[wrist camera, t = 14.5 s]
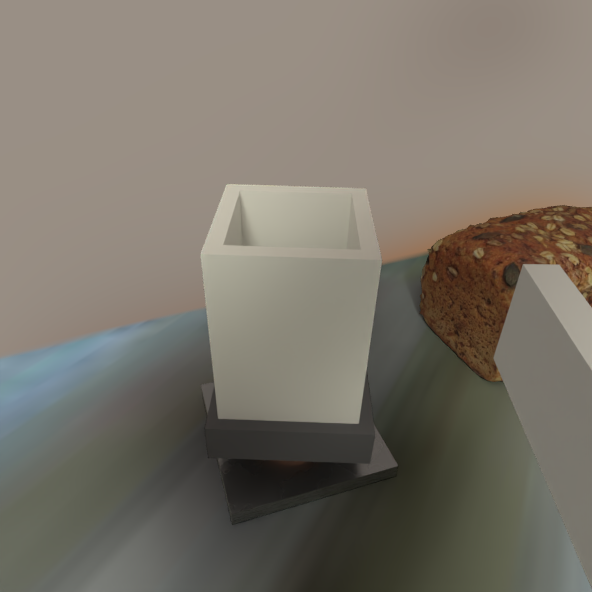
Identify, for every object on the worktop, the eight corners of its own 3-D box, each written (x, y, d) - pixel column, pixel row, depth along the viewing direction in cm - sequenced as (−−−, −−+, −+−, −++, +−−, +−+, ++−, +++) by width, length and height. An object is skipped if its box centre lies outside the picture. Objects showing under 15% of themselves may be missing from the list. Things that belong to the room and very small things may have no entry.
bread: (491, 397, 35) (534, 281, 29) (407, 314, 43) (427, 209, 37) (664, 335, 41) (727, 229, 35) (563, 272, 49) (600, 177, 43)
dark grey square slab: (358, 354, 33) (361, 327, 32) (370, 463, 26) (375, 434, 25) (230, 350, 34) (228, 322, 32) (208, 457, 26) (204, 428, 25)
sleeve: (349, 333, 31) (365, 188, 26) (358, 424, 25) (382, 260, 20) (236, 329, 32) (226, 184, 26) (218, 418, 26) (200, 254, 20)
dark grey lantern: (333, 365, 37) (346, 223, 30) (395, 476, 29) (432, 318, 22) (202, 394, 34) (182, 245, 27) (232, 524, 26) (215, 362, 20)
